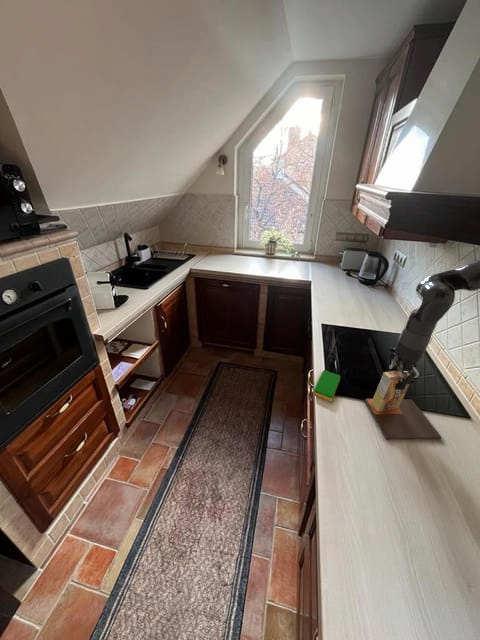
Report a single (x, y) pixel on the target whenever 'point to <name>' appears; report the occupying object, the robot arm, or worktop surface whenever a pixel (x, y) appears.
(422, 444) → the worktop surface
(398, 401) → the candy box
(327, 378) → the dish sponge
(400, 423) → the board
